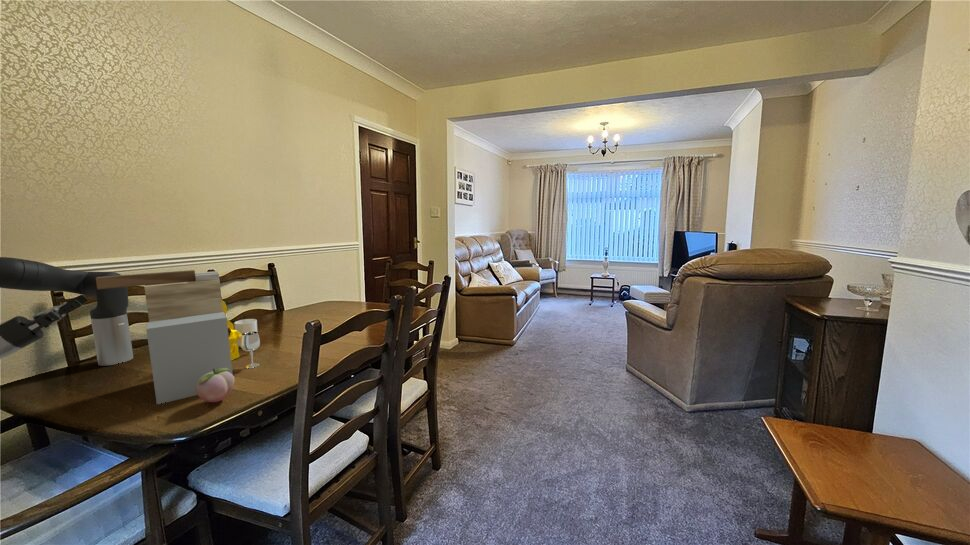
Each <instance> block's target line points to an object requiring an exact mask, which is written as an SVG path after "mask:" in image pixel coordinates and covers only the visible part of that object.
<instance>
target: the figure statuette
mask: <svg viewBox="0 0 970 545" xmlns="http://www.w3.org/2000/svg"><path fill="white" fill-rule="evenodd" d="M227 306H228V305H227V304H226V302H225V301H224V300H222V307H223V312H224V313H225V315H226V316H227V312H228V307H227ZM227 326H228V336H229V345H230V354H231V362H232V361H233V360H234V361H235V359H238V358H240V353H239V348H240V347H239V346H238V340H237V339H239V340H241V335H242V334H241V333H239V332H238V331H237V330H235V325H234V323H233V322H231V321H230V320H229V319H228V318H227Z"/></svg>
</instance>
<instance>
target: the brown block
mask: <svg viewBox="0 0 970 545" xmlns="http://www.w3.org/2000/svg"><path fill="white" fill-rule="evenodd" d="M212 280H220V274H219V272H218V271H217V270H215V271H203V272H201V271H200V272H196V271H195V269H193V270H192V269H191V270H177V271H176V270H175V271H163V272H150V273H149V272H148V273H135V274H120V275H117V276H103V277H97V278H96V283H97V289H107V288H119V287H127V288H128V287H139V286H142V287H143V286H145V285H154V284H166V283H178V282H189V281H196V282H201V281H212Z"/></svg>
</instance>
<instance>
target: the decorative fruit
mask: <svg viewBox="0 0 970 545" xmlns="http://www.w3.org/2000/svg"><path fill="white" fill-rule="evenodd" d="M226 370H230V369H228V368H220V369H217V370H215V369H213V372H209V373H207V374H205V375H203V376H202V377H201V378H200V379H199V380H198V382H197V383H196V387H195V389H196V392H197V394H198V395H197V396H198V397H199V398H200V399H201V400H203V401H205V402H206V403H207V402H208V403H219V402H220V401H221V402H222V400H224V399H225V398H226V397H228V395H229V394H230V393H231V392H232V390H233V387H235V383H236V378H235V376H234V374H233V375H232V374H231V373H230V372H227V371H226Z"/></svg>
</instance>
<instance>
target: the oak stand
mask: <svg viewBox="0 0 970 545" xmlns="http://www.w3.org/2000/svg"><path fill="white" fill-rule="evenodd" d="M221 290H222V289H221V281H220V279H219V280H212V281H201V282H196V281H189V282H178V283H166V284H154V285H144V294H145V301H146V307H147V315H148V322H152V321H160V320H167V319H175V318H182V317H190V316H198V315H205V314H213V313H220V312H223V307H222V301H223V299H222V298H223V297H222V292H221Z"/></svg>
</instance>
